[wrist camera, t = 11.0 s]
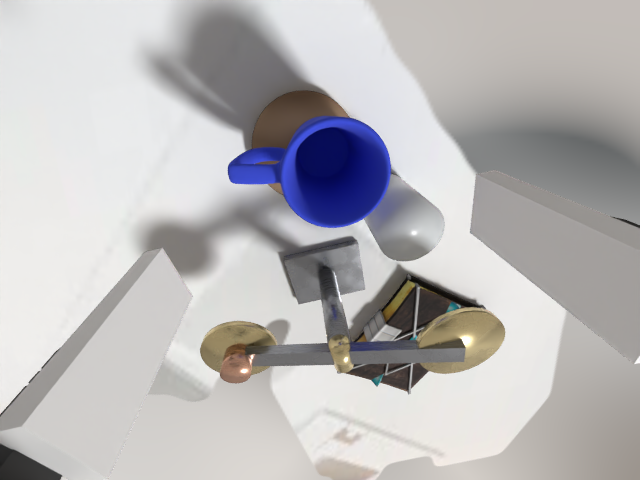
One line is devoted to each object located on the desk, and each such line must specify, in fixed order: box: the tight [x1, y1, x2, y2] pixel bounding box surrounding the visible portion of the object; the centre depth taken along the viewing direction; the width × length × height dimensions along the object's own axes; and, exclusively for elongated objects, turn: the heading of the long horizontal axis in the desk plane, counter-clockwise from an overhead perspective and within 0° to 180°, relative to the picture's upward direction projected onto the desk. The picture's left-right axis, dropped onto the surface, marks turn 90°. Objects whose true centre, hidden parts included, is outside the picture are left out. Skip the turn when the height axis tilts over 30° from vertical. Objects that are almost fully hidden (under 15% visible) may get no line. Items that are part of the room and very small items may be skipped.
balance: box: [200, 240, 505, 383], centre depth 30 cm, size 8×30×16 cm, turn 102°
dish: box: [252, 91, 349, 195], centre depth 28 cm, size 11×11×1 cm
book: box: [337, 274, 486, 394], centre depth 44 cm, size 22×17×5 cm
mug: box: [228, 116, 391, 228], centre depth 23 cm, size 8×12×10 cm
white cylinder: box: [364, 174, 445, 261], centre depth 29 cm, size 6×6×9 cm
